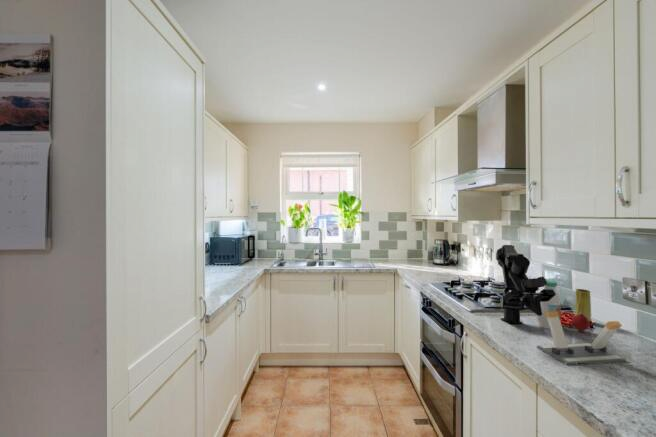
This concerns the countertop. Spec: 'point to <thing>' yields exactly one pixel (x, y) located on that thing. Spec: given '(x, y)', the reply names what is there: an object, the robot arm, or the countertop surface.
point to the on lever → (605, 335)
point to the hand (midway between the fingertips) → (540, 315)
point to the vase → (583, 303)
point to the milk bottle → (550, 305)
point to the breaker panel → (581, 354)
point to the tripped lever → (557, 331)
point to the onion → (580, 322)
